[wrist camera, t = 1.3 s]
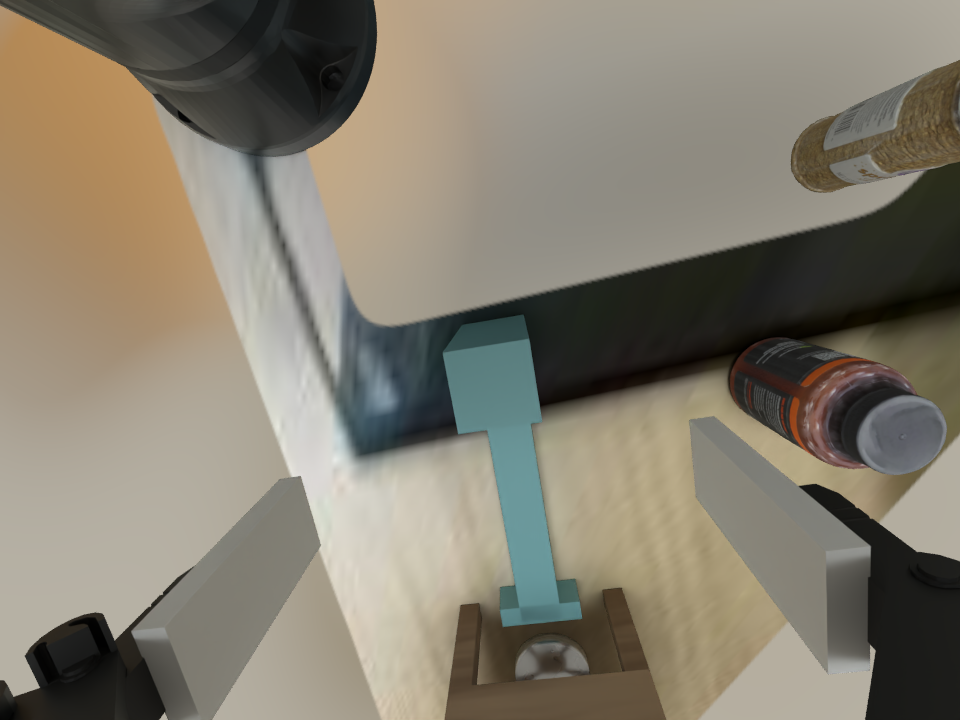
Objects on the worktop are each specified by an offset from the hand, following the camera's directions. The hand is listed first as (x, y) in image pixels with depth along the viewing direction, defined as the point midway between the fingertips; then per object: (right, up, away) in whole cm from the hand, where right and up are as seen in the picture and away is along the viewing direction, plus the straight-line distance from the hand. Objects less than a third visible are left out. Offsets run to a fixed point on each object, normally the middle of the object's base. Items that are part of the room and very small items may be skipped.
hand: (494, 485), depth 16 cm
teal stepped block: (+2, -4, +20) cm, 20 cm away
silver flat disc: (+6, -21, +24) cm, 32 cm away
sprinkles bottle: (+21, +17, +14) cm, 31 cm away
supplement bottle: (+20, +3, +17) cm, 27 cm away
